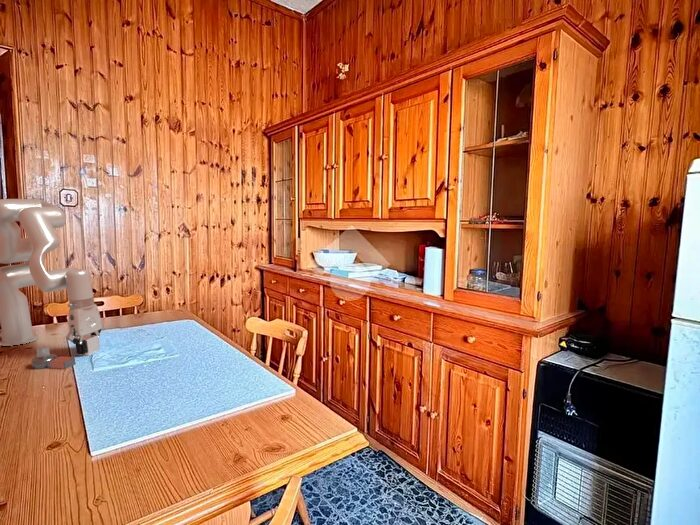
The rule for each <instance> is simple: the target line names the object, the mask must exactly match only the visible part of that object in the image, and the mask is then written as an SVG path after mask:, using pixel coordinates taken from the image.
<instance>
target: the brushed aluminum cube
mask: <svg viewBox="0 0 700 525" xmlns="http://www.w3.org/2000/svg"><path fill="white" fill-rule="evenodd" d="M98 338H99V337H98V335H90V334H88V335H85V336H83V342H82V343H84V345H85V352H86V353H85V354H77V353H76V354H77V356H86V357H87V356H88V357H89V356H92V355H93V354H92V353H93V352H94V351H97V350H99V349H100V350H101V346H100V341H99V340H100V338H99V339H98ZM78 340H79V337H78ZM99 346H100V347H99Z"/></svg>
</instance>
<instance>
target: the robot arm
mask: <svg viewBox="0 0 700 525" xmlns="http://www.w3.org/2000/svg"><path fill="white" fill-rule="evenodd" d="M66 218H67V217H66V214H65V213H64V211H63V210H62V209H61V208H60V207H59V206H56V205H55V204H52V203H50V202H48V201H46V200H43V199H40V198H3V199H1V198H0V264H1V265H3V264H5V266H1V267H0V327H1V332H0V338H1V341H0V345H3V346H11V347H14V346H13V345H18V346H21V345H20V344H23V345H26V343H27V344H30V343H33V342H35V341H37V340H38V339H39V336H38V334H34V332H33V327H32V320H31V319H32V318H31V314H30V307H29V301H28V297H27V296H26V294H24V292H22V291H21V290H20V289H22V288H27V287H31V286H36V287H37V288H38V289H39V290H40V291H42V292H44V293H53V292H56V291H57V292H58V291H62V290H66V291H67V297H68V304H67V307H68V308H69V309H68V334H67V336H66V340H68V341H70V342H71V343H73V345H75V350H76V354H85V353H86V352H85V345H84V343H82V342H83V336H85V335H98V339H99V340H100V338H99V337H100V334H101V332H102V329H103V327H104V323H102V319H101V314H100V311H99V308H98V305H97V304H96V303H95V299H94V292H93V287H92V286H93V285H92V277H91V272H90V270H88V269H87V268H77V267H66V268H65V267H64V268H60V269H59V268H58V269H52V270H47V269H46V268H45V264H44V263H45V258H44V256H45V255H47V254H49V253H50V252H52V251H54V250H56V249H57V248H58V247H59V246H60V245H61V240H60V238H59V236H58V234H57V232H56V230H55V229H61V228H63V227H64V226H65V225H66V222H67V219H66ZM17 222H19V223H20V225H21V227H22V228H23V231H24V233H25V235H26V237H23V238H22V235H21V234H22V230H21V227H20V226H19V225H18V223H17ZM23 262H25V263H23ZM17 263H21V264H17ZM6 264H7V265H6ZM8 264H12V265H8ZM78 338H79V340H78ZM29 342H30V343H29ZM99 347H100V348H101V346H100V345H99Z"/></svg>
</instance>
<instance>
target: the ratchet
mask: <svg viewBox="0 0 700 525" xmlns="http://www.w3.org/2000/svg"><path fill="white" fill-rule="evenodd" d="M35 350H36V355H37V356H35V357H33V358H32V359H30V362H31V366H32V367H31V368H32V369H33V370H43V369H53V370H54V369H55V370H56V369H57V370H66V369H68V368H71V367H74V366H76V364H77V363H76V358H75V356H61V355H60V356H57V355H58V354H57V353H51V351H50V347H49V346H41V347H38V348H36V349H35Z"/></svg>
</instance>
